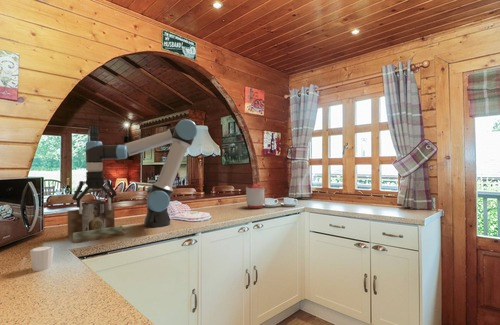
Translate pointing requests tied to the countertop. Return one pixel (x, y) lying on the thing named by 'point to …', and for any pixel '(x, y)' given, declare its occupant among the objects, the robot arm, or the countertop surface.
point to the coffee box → (93, 215)
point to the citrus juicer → (255, 196)
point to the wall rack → (82, 236)
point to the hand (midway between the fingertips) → (95, 211)
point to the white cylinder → (41, 258)
